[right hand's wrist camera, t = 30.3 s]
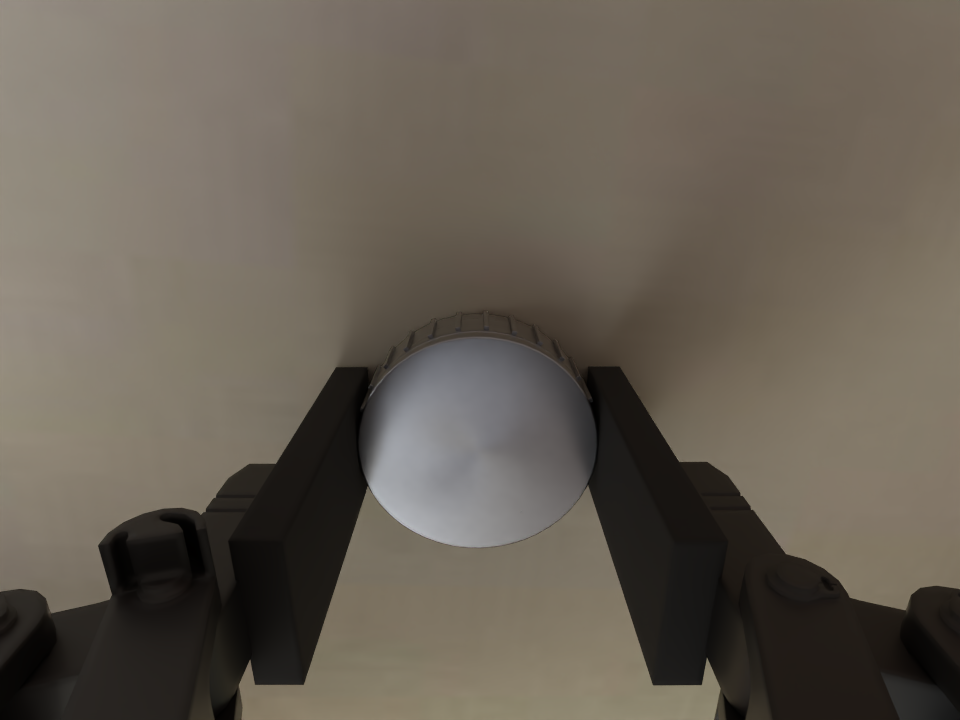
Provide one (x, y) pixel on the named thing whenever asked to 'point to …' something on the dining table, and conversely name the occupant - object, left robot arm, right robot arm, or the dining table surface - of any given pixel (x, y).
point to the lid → (477, 431)
